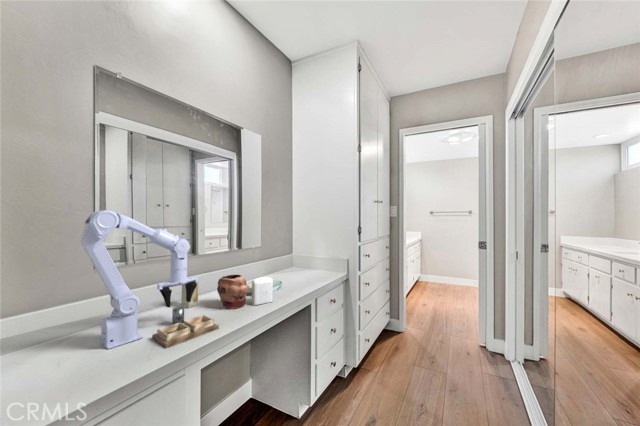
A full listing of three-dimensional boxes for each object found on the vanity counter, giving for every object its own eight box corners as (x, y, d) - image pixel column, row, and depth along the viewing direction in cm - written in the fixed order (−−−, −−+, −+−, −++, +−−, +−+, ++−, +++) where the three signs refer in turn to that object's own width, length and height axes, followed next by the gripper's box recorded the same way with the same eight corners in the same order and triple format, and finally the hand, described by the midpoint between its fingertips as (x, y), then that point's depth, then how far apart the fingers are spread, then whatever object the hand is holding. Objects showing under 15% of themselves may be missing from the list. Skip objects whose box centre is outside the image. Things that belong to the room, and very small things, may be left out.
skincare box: (189, 308, 117) (189, 281, 117) (180, 307, 118) (181, 280, 118) (198, 303, 123) (198, 278, 124) (190, 303, 124) (190, 277, 124)
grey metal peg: (175, 326, 97) (175, 310, 97) (170, 324, 100) (170, 308, 100) (185, 323, 100) (186, 308, 101) (181, 321, 103) (181, 305, 103)
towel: (234, 295, 138) (234, 286, 138) (255, 285, 158) (255, 277, 158) (265, 298, 132) (265, 288, 133) (282, 288, 153) (283, 279, 153)
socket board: (166, 348, 81) (166, 337, 81) (152, 338, 88) (152, 328, 88) (218, 328, 96) (218, 319, 96) (203, 321, 102) (203, 313, 102)
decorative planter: (205, 305, 121) (206, 276, 121) (226, 298, 131) (226, 271, 132) (237, 313, 111) (237, 280, 111) (256, 304, 122) (256, 275, 122)
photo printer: (270, 299, 129) (270, 275, 130) (274, 302, 126) (274, 276, 126) (250, 303, 123) (250, 278, 124) (253, 306, 120) (253, 279, 120)
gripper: (163, 273, 92) (162, 311, 92) (202, 267, 104) (201, 301, 104) (154, 271, 96) (154, 307, 96) (193, 265, 108) (193, 297, 108)
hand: (178, 304), depth 100 cm, fingers open, 7 cm apart
